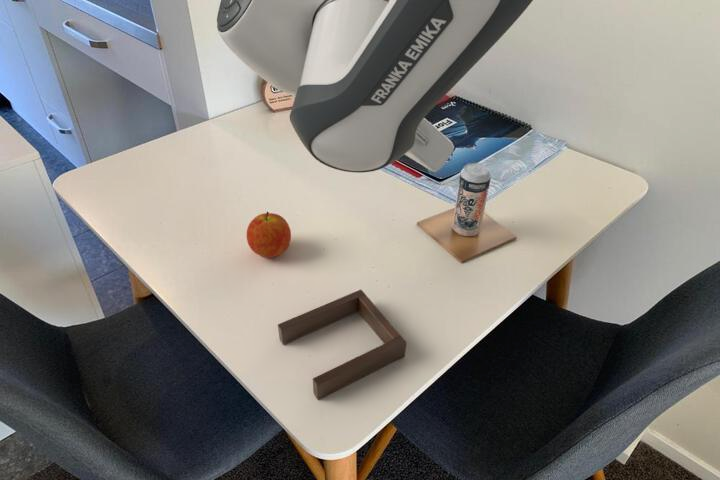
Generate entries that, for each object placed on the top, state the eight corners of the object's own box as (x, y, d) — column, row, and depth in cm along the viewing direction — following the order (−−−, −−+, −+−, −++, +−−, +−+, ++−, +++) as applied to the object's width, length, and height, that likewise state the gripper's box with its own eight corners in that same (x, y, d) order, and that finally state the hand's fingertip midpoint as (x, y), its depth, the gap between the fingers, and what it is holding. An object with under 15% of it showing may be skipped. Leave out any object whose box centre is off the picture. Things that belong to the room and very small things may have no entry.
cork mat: (515, 239, 88) (516, 236, 88) (461, 263, 84) (461, 260, 83) (469, 204, 96) (469, 201, 96) (416, 224, 91) (417, 221, 91)
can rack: (405, 356, 69) (406, 341, 67) (317, 400, 64) (316, 385, 62) (360, 303, 76) (361, 289, 74) (279, 339, 71) (277, 324, 69)
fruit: (269, 272, 81) (264, 232, 76) (240, 253, 85) (233, 214, 80) (301, 250, 85) (298, 211, 80) (272, 233, 89) (267, 194, 84)
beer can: (449, 234, 88) (458, 173, 81) (455, 218, 92) (464, 159, 84) (477, 240, 87) (489, 179, 80) (482, 224, 91) (494, 164, 83)
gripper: (430, 96, 49) (486, 158, 59) (312, 39, 61) (376, 98, 72) (391, 153, 49) (453, 203, 60) (282, 84, 62) (349, 136, 73)
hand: (410, 145), depth 66 cm, fingers open, 8 cm apart
